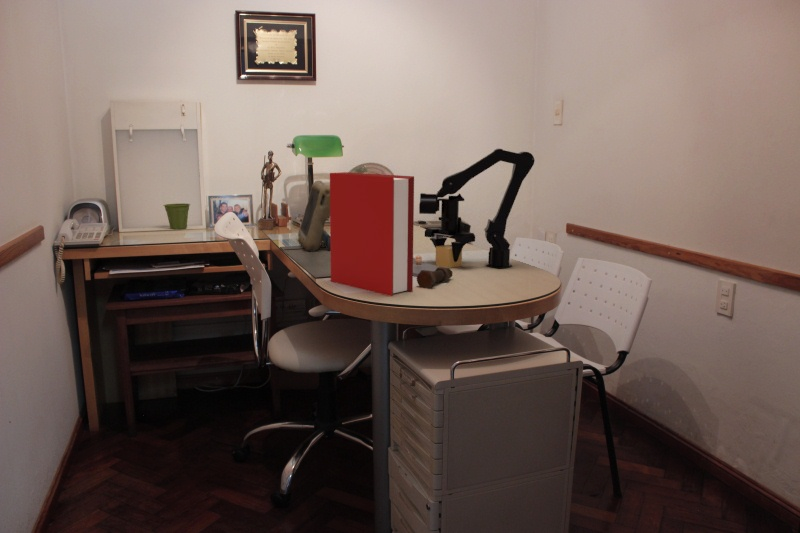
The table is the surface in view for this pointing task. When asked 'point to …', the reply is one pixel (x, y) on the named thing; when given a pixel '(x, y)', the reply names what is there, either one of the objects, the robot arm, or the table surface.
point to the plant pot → (177, 215)
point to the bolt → (433, 277)
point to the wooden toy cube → (447, 257)
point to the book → (372, 231)
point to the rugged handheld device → (316, 218)
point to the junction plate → (422, 266)
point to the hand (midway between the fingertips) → (448, 260)
